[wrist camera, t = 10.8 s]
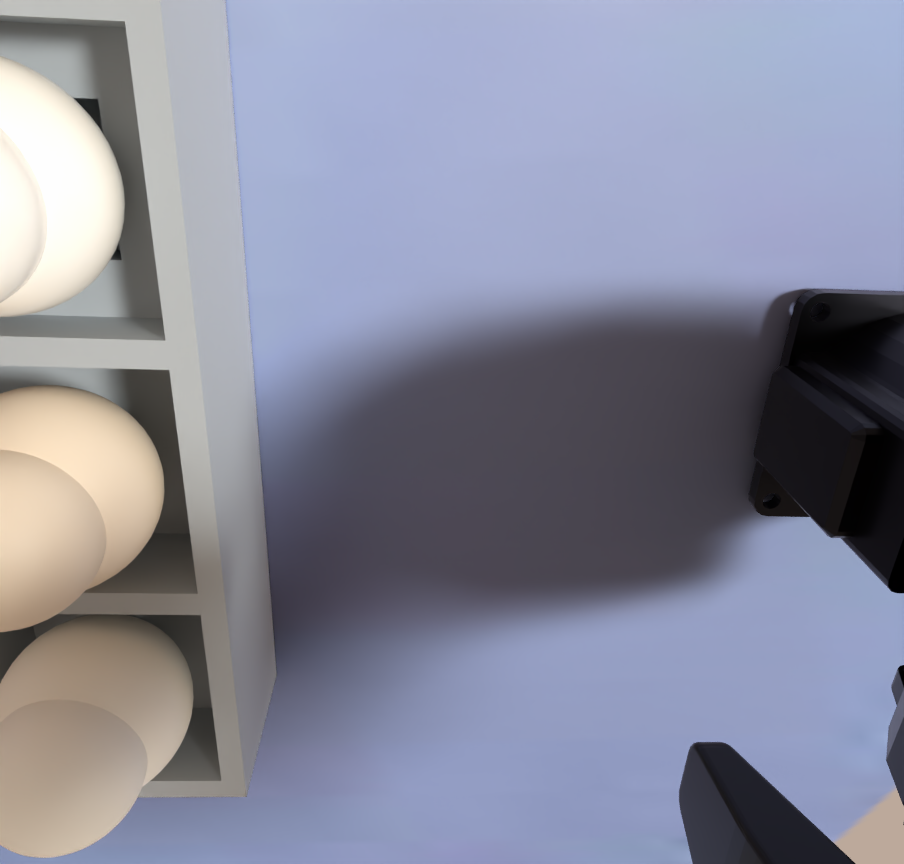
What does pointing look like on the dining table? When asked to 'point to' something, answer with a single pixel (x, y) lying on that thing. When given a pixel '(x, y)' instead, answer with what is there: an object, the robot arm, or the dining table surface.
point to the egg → (52, 194)
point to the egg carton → (134, 453)
